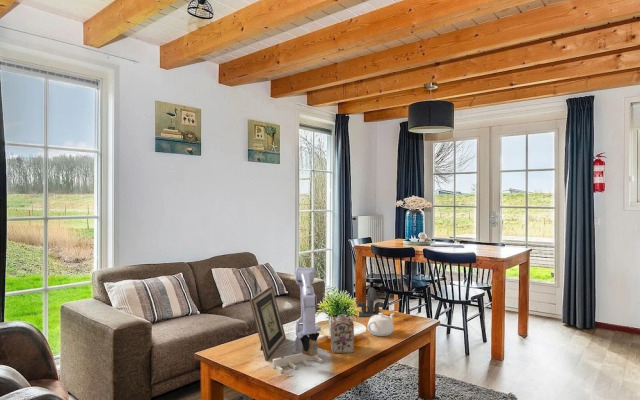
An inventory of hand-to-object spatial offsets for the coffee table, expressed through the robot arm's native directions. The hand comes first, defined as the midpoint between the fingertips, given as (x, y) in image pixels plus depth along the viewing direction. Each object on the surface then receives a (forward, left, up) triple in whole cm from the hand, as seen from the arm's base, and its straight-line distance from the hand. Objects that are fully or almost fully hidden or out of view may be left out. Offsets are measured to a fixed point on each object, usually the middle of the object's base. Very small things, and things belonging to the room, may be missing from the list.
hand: (309, 349), depth 201 cm
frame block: (0, 0, -2) cm, 2 cm away
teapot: (-22, +63, -9) cm, 67 cm away
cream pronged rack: (-6, -2, -9) cm, 11 cm away
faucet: (-52, +79, -9) cm, 95 cm away
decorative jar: (-13, +28, -9) cm, 32 cm away
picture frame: (-34, -5, -9) cm, 36 cm away
